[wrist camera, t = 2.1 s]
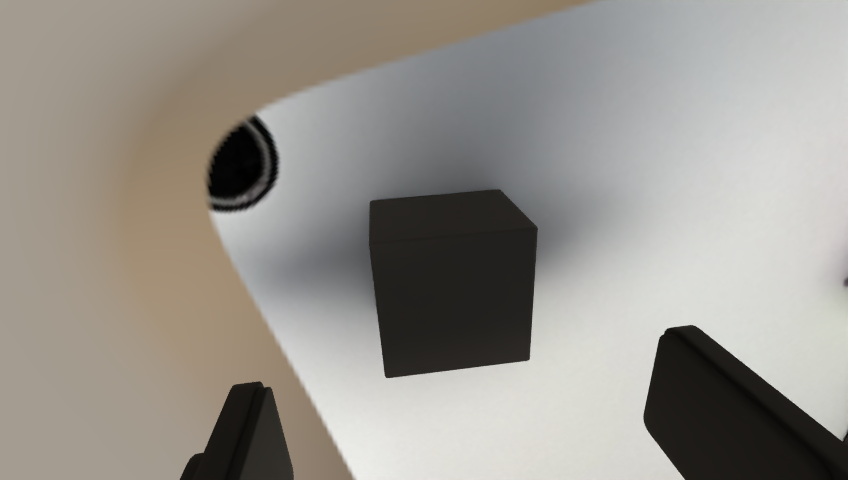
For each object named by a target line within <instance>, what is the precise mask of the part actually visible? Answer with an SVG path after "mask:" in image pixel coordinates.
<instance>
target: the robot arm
mask: <svg viewBox="0 0 848 480" xmlns="http://www.w3.org/2000/svg"><path fill="white" fill-rule="evenodd" d="M643 418H644V423H645V426H646V428H647V430H648V432H649V433H650V435H651V436H652V437H653V438H654V440H655V441H656V442H657V444H658V445H659V446H660V448H661V449H662V450H663V451H664V453H665V454H666V455H667V457H668V458H669V459H670V461H671V462H672V463H673V464H674V466H675V467H676V468H677V470H678V471H679V472H680V474H681V475H682V476H683V478H684V479H685V480H848V446H847V445H846V444H845V443H843V442H842V441H841V440H839V439H838V438H837V437H836V436H834V435H833V434H832V433H831V432H829V431H828V430H827V429H826V428H824V427H823V426H822V425H820V424H819V423H818V422H817V421H815V420H814V419H813V418H812V417H810V416H809V415H808V414H807V413H805V412H804V411H803V410H802V409H800V408H799V407H798V406H796V405H795V404H794V403H793V402H791V401H790V400H789V399H788V398H786V397H785V396H784V395H783V394H781V393H780V392H779V391H778V390H776V389H775V388H774V387H772V386H771V385H770V384H769V383H767V382H766V381H765V380H764V379H762V378H761V377H760V376H759V375H757V374H756V373H755V372H753V371H752V370H751V369H750V368H748V367H747V366H746V365H745V364H743V363H742V362H741V361H740V360H738V359H737V358H736V357H735V356H733V355H732V354H731V353H729V352H728V351H727V350H726V349H724V348H723V347H722V346H721V345H719V344H718V343H717V342H716V341H714V340H713V339H712V338H710V337H709V336H708V335H707V334H705V333H704V332H703V331H702V330H700V329H699V328H697V327H696V326H693V325H688V326H680V327H673V328H668V329H667V330H666V331H665V333H664V335H662V336H661V337H660V339H659V342H658V347H657V352H656V357H655V362H654V367H653V372H652V377H651V381H650V386H649V391H648V396H647V401H646V406H645V411H644V417H643ZM180 480H294V475H293V468H292V464H291V460H290V456H289V452H288V449H287V445H286V441H285V437H284V433H283V429H282V426H281V422H280V418H279V415H278V411H277V407H276V403H275V399H274V395H273V392H272V389H271V387H265V388H264V386H263V384H262V383H261V382H252V383H244V384H236V385H234V386H232V388H231V390H230V392H229V394H228V396H227V399H226V401H225V404H224V406H223V408H222V411H221V413H220V415H219V418H218V420H217V422H216V425H215V427H214V429H213V432H212V435H211V437H210V439H209V441H208V444H207V446H206V448H205V451H204V453H199V454H195V455H194V456H193V457H192V458H190V460H189V462H188V463H187V465H186V467H185V469H184V472H183V474H182V476H181V478H180Z"/></svg>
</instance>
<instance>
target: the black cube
mask: <svg viewBox="0 0 848 480" xmlns="http://www.w3.org/2000/svg"><path fill="white" fill-rule="evenodd" d="M537 230H538V229H537V227H536V226H535V225H534V224H533V223H532V222H531V221H530V220H529V219H528V218H527V216H526V215H525V214H524V213H523V212H522V211H521V210H520V209H519V208H518V207H517V206H516V205H515V204H514V203H513V202H512V201H511V200H510V199H509V198H508V197H507V196H506V195H505V194H504V193H503V192H502V191H501V190H499V189H498V190H486V191H475V192H464V193H453V194H442V195H431V196H419V197H408V198H397V199H386V200H375V201H371V202H370V223H369V249H370V257H371V265H372V273H373V281H374V290H375V298H376V306H377V314H378V322H379V331H380V339H381V347H382V355H383V364H384V372H385V376H386V378H393V377H401V376H409V375H417V374H425V373H433V372H441V371H449V370H457V369H465V368H473V367H481V366H489V365H497V364H505V363H513V362H521V361H528V360H529V359H530V344H531V328H532V312H533V296H534V279H535V263H536V247H537Z"/></svg>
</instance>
